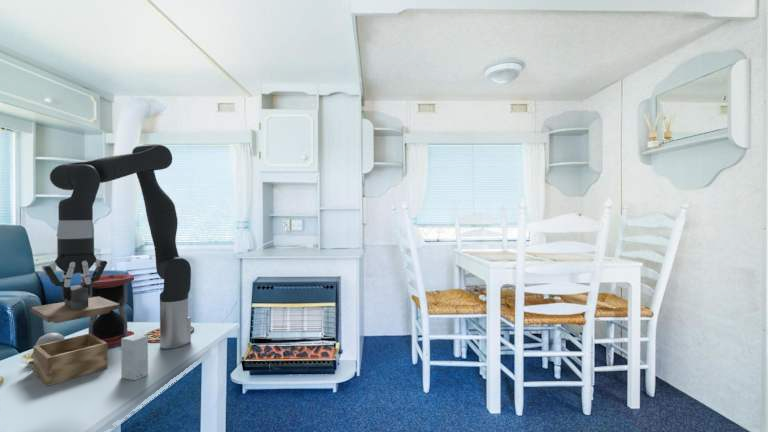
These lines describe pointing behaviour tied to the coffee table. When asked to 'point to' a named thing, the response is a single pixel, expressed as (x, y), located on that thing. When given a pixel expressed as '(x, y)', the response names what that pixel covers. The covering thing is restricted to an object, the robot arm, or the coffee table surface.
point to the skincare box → (134, 357)
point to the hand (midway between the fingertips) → (76, 298)
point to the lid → (75, 307)
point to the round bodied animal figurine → (48, 339)
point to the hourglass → (112, 323)
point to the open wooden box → (69, 358)
